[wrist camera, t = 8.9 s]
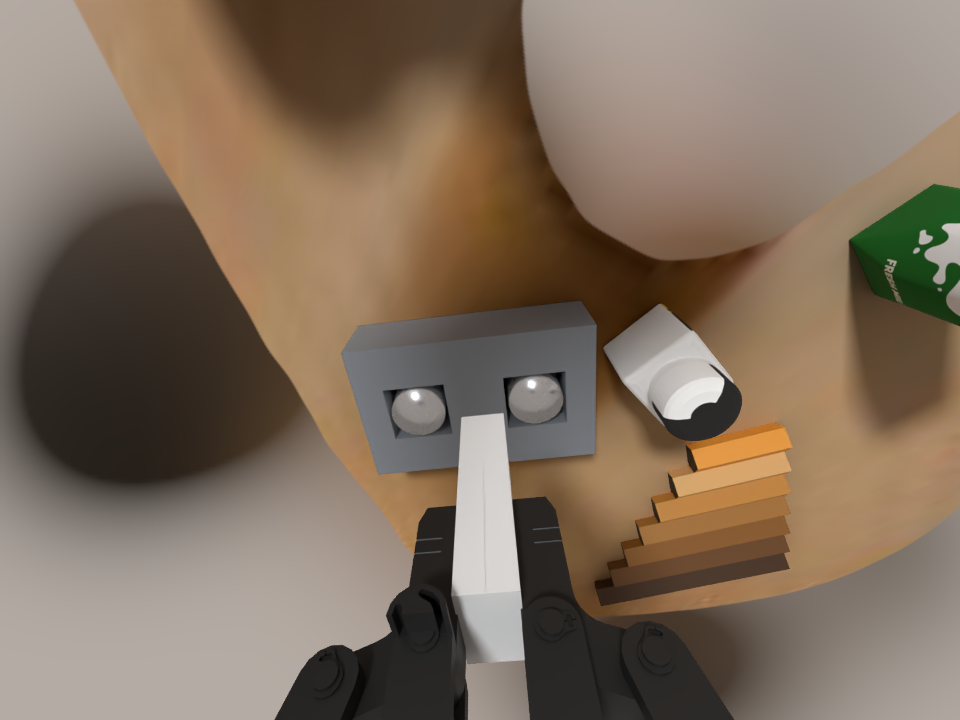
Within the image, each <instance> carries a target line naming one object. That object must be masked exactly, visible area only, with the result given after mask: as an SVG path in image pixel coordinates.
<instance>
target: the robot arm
mask: <svg viewBox="0 0 960 720" xmlns="http://www.w3.org/2000/svg"><path fill="white" fill-rule="evenodd" d="M414 553H415V555H414V559H413V566H412V572H411V578H410V586H409V587H408V588H407V589H405V590H404V591H402V592H401V593H399V594H398V595H397V596H396V598H395V599H394V600H393V601H392V602H391V604H390V606H389V609H388V612H387V614H386V617H387V620H388V622H389V624H390V628H391V630H392V632H391V633H389V634H388V635H387V636H386V637H384V638H382V639H381V640H379V641H377V642H375V643H373V644H370V645H368V646H366V647H363V648H361V649H359V650H356V651H354V652H353V651H352V650H351V649H349V648H347V647H345V646H343V645H333V646H329V647H327V648H325V649H322V650H320V651H319V652H317V654H315V655H314V656H313V657H312V658H310V659H309V660H308V662H307V663H306V665H305V666H304V667H303V669H302V670H301V671H300V673H299V675H298V677H297V679H296V680H295V683H294V684H293V686H292V688H291V690H290V692H289V694H288V696H287V697H286V699H285V701H284V703H283V705H282V707H281V709H280V710H279V712H278V714H277V716H276V718H275V720H468V690H467V683H466V679H465V669H466V659H467V663H468V664H475V663H489V662H503V661H518V660H525V668H526V679H527V690H528V700H529V713H530V720H734V719H733V717H732V716H731V714H730V713H729V711H728V710H727V708H726V706H725V705H724V703H723V702H722V701H721V699H720V697H719V696H718V694H717V693H716V691H715V690H714V688H713V687H712V685H711V683H710V682H709V680H708V679H707V677H706V676H705V674H704V673H703V671H702V670H701V668H700V667H699V665H698V664H697V662H696V660H695V659H694V657H693V656H692V654H691V653H690V651H689V650H688V648H687V647H686V645H685V644H684V643H683V642H682V640H681V639H680V638H679V637H678V636H677V635H676V634H675V632H673V631H671V630H670V629H668V628H667V627H665V626H664V625H662V624H658V623H654V622H651V621H646V622H637V623H636V624H634V625H632V626H631V627H629V628H628V629H623V628H619V627H615V626H612V625H608V624H604V623H602V622H600V621H597V620H595V619H594V618H592V617H591V616H589V615H588V614H587V613H586V612H585V611H584V610H583V609H582V608H581V607H580V606H579V604H578V603H577V601H576V599H575V597H574V594H573V590H572V586H571V581H570V576H569V572H568V567H567V562H566V557H565V553H564V548H563V543H562V538H561V534H560V529H559V524H558V520H557V515H556V510H555V509H554V507H553V506H552V505H551V503H550V502H549V501H548V499H547V498H546V497H536V498H525V499H514V500H513V499H512V489H511V479H510V469H509V460H508V451H507V441H506V432H505V423H504V414H503V413H499V414H489V415H478V416H468V417H461V434H460V452H459V469H458V487H457V505H456V506H446V507H435V508H428V509H427V510H426V512H425V514H424V515H423V517H422V519H421V520H420V522H419V526H418V532H417V542H416V545H415V552H414Z"/></svg>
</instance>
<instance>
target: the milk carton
mask: <svg viewBox="0 0 960 720" xmlns="http://www.w3.org/2000/svg"><path fill="white" fill-rule="evenodd" d="M850 241H851V244H852V246H853V248H854V250H855V253H856V255H857V257H858V259H859V261H860V264H861V266H862V268H863V270H864V273H865V275H866V277H867V279H868V282H869V284H870V286H871V288H872V290H873V293H874V295H877V296H880V297H883V298H886V299H889V300H891V301H894V302H897V303H900V304H903V305H906V306H908V307H911V308H914V309H916V310H919V311H921V312H924V313H927V314H929V315H932V316H934V317H937V318H940V319H942V320H945V321H947V322H950V323H953V324H955V325H958V326H960V189H959V188H953V187H948V186H942V185H936V184H933V185H932V186H930V187H929V188H927V189H926V190H924V191H923V192H921V193H920V194H918V195H917V196H915V197H914V198H912V199H911V200H909V201H908V202H906V203H904V204H903V205H901V206H900V207H898V208H897V209H895V210H894V211H892V212H891V213H889V214H888V215H886V216H885V217H883V218H882V219H880V220H879V221H877V222H876V223H874V224H873V225H871V226H869V227H868V228H866V229H865V230H863V231H862V232H860V233H859V234H857V235H856V236H854V237H853V238H851V239H850Z"/></svg>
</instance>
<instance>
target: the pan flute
mask: <svg viewBox="0 0 960 720" xmlns="http://www.w3.org/2000/svg"><path fill="white" fill-rule="evenodd" d="M790 448H792V445H791V443H790V440H789V437H788V435H787V432H786V430H785V427H783V426H781V425H779V424H777V423H772V424H768V425H764V426H760V427H756V428H751V429H747V430H743V431H739V432H735V433H731V434H727V435H723V436H719V437H715V438H711V439H707V440H703V441H699V442H695V443H691V444H687V445H686V451H687V458H688V462H689V464H690V467H686V468H682V469H678V470H674V471H670V472H668V477H669V484H670V488H671V490H672V492H671V493H666V494H662V495H658V496H654V497H651V501H652V506H653V511H654V513H655V516H653V517H649V518H644V519H640V520H635V522H636V526H637V531H638V534H639V537H640V538H638V539H634V540H629V541H624V542H621V546H622V549H623V553H624V557H625V559H622V560H617V561H613V562H608V563H607V564H608V568H609V571H610V574H611V578H610V579H605V580H600V581H595V586H596V590H597V594H598V597H599V600H600V604H601V606H604V605H610V604H615V603H620V602H625V601H630V600H635V599H640V598H645V597H650V596H655V595H660V594H665V593H670V592H675V591H680V590H685V589H690V588H695V587H700V586H705V585H711V584H716V583H721V582H726V581H731V580H736V579H741V578H746V577H751V576H756V575H761V574H766V573H771V572H776V571H781V570H786V569H790V568H789V566H788V563H787V560H786V558H785V555H784V553H786V552H790V550H789V547H788V545H787V542H786V539H785V537H784V535H785V534H789V533H790V531H789V528H788V525H787V523H786V520H785V517H784V515H788V514H791V513H790V510H789V508H788V505H787V502H786V500H785V497H784V495H787V494H790V493H791V491H790V488H789V486H788V483H787V480H786V478H785V475H784V474H786V473H788V472H791V471H792V470H791V468H790V465H789V462H788V460H787V457H786V455H785V451H787V450H788V449H790Z"/></svg>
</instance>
